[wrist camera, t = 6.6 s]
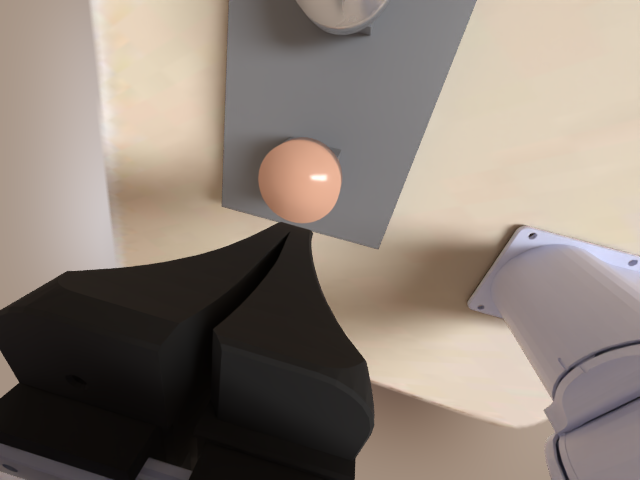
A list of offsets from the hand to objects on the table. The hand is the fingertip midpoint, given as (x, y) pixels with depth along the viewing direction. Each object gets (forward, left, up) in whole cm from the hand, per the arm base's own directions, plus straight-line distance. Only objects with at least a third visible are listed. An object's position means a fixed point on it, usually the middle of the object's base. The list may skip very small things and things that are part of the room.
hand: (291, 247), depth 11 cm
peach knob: (+1, -1, -10) cm, 10 cm away
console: (+1, -5, -10) cm, 12 cm away
